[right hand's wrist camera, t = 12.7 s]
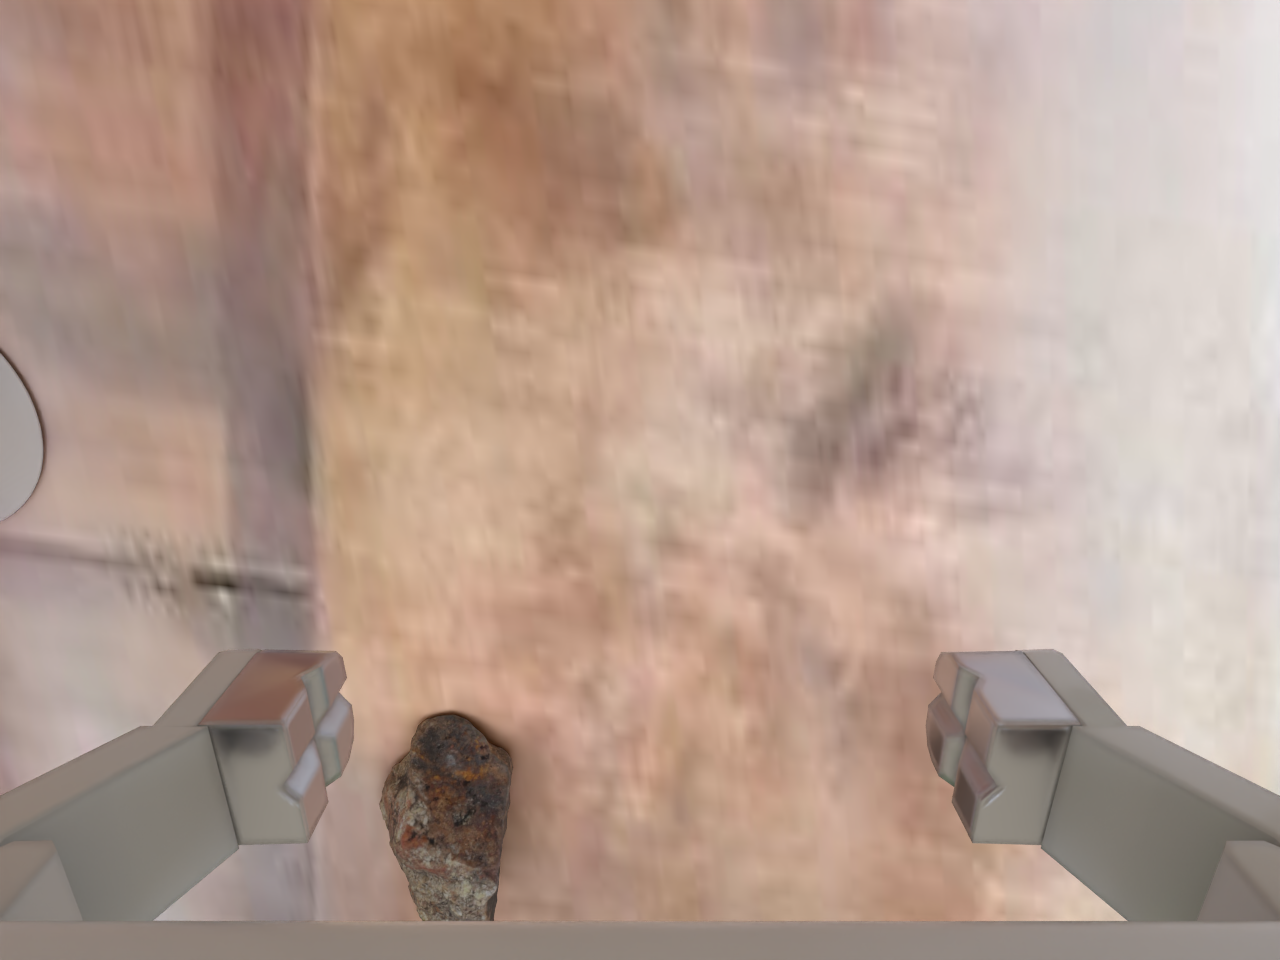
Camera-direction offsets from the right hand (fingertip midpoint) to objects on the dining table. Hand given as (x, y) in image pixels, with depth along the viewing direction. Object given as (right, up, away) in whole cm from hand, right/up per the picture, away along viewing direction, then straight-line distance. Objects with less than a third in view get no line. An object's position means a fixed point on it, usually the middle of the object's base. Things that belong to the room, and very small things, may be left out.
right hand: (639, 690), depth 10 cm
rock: (-13, -20, +44) cm, 49 cm away
